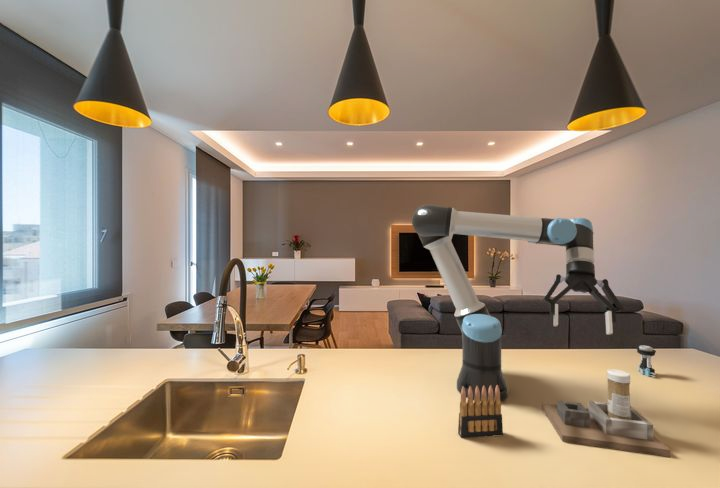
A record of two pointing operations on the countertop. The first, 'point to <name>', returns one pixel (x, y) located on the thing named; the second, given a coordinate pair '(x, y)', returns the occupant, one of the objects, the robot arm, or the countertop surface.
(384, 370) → the countertop surface
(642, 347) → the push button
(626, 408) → the sprinkles bottle
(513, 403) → the countertop surface
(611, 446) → the socket board
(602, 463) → the countertop surface
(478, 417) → the ammunition clip
